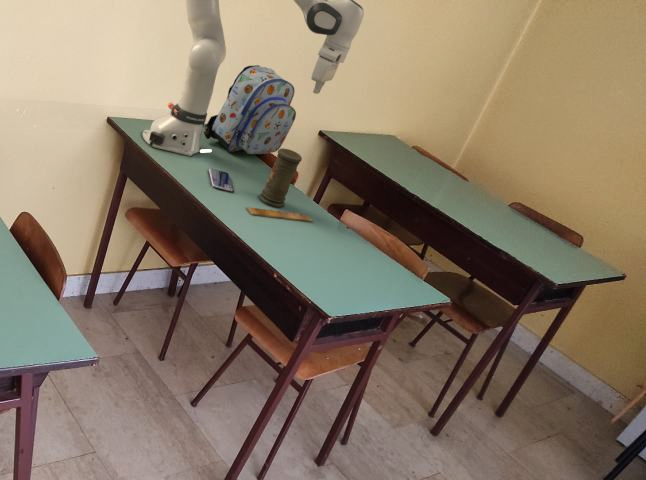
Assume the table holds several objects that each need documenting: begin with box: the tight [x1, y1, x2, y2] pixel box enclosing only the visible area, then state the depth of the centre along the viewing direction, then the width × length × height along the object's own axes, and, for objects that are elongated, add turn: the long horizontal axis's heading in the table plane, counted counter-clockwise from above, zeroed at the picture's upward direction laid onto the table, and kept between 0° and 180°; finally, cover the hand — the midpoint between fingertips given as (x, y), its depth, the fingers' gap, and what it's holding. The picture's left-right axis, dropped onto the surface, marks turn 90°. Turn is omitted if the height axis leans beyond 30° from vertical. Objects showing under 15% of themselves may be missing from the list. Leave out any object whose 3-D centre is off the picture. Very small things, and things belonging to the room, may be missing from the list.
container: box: [259, 147, 303, 208], centre depth 211 cm, size 9×9×18 cm
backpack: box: [203, 64, 297, 155], centre depth 242 cm, size 33×25×31 cm
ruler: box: [247, 207, 313, 223], centre depth 208 cm, size 24×4×1 cm, turn 110°
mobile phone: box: [208, 168, 234, 192], centre depth 216 cm, size 8×1×15 cm
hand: (315, 93), depth 216 cm, fingers closed
